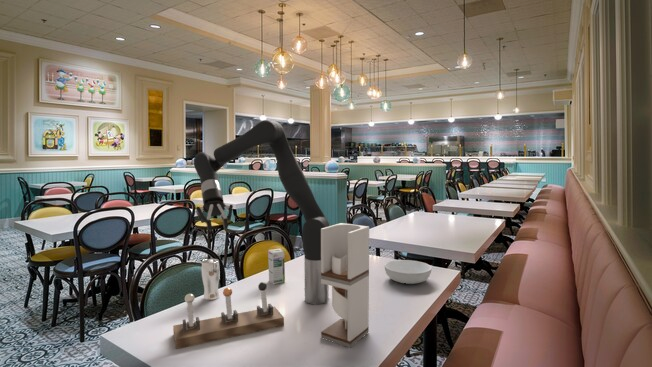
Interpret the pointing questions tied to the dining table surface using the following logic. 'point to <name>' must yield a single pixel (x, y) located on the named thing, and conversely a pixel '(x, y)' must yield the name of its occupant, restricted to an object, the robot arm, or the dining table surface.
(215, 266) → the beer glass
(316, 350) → the dining table surface
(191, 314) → the cream lever
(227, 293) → the orange lever
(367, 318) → the display case
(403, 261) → the serving bowl
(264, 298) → the black lever
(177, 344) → the switch panel
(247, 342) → the dining table surface
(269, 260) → the syrup box
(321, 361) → the dining table surface
